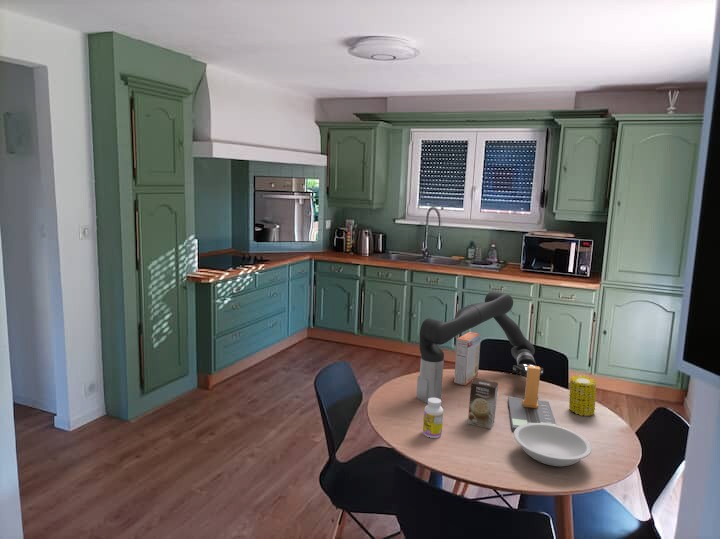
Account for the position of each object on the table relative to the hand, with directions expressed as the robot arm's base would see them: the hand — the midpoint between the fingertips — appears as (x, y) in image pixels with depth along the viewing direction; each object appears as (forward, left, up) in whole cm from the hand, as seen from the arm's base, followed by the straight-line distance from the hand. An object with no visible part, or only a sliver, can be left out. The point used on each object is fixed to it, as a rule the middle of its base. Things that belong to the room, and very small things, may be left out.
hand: (529, 377), depth 215 cm
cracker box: (-8, +28, -10) cm, 31 cm away
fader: (-7, -7, -8) cm, 13 cm away
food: (+10, -18, -10) cm, 23 cm away
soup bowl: (-31, -35, -10) cm, 48 cm away
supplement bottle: (-55, -4, -10) cm, 56 cm away
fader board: (-12, -12, -10) cm, 20 cm away
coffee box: (-33, -6, -10) cm, 35 cm away
